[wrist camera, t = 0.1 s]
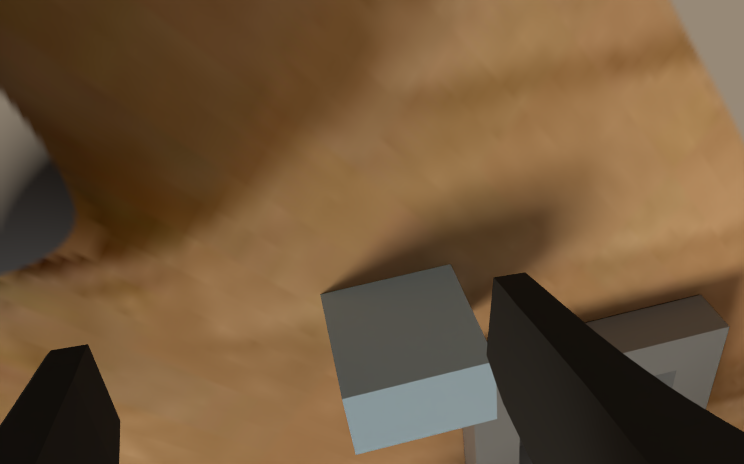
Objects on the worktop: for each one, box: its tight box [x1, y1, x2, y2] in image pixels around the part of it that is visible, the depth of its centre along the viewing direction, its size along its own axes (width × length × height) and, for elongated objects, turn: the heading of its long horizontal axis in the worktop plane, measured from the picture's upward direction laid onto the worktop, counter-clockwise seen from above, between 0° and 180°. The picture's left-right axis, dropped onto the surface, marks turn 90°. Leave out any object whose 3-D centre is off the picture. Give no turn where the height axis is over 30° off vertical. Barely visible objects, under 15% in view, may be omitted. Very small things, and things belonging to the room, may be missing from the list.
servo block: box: [320, 264, 497, 455], centre depth 24 cm, size 3×5×5 cm, turn 98°
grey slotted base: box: [463, 295, 729, 464], centre depth 30 cm, size 9×11×2 cm
